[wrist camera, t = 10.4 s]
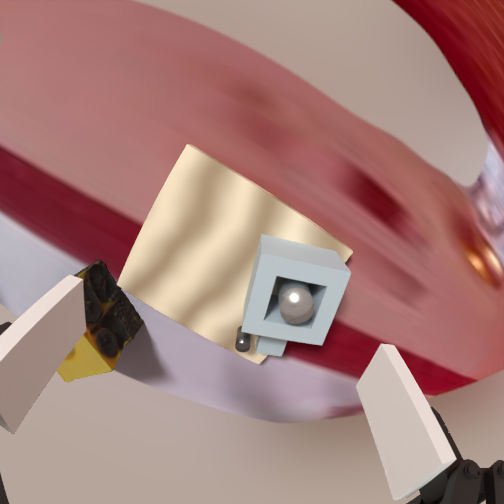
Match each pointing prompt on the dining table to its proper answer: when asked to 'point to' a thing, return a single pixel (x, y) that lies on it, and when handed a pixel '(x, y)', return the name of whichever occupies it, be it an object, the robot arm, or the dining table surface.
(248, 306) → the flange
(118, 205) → the dining table surface
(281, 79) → the dining table surface
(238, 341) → the dowel
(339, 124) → the dining table surface
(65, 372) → the yellow black cube
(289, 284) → the post
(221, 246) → the board
